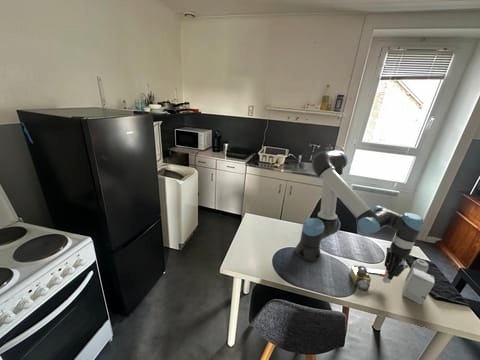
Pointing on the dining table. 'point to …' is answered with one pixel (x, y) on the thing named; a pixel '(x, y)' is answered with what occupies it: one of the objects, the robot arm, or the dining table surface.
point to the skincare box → (418, 286)
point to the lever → (370, 271)
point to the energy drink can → (419, 266)
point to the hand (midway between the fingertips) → (386, 281)
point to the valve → (360, 279)
